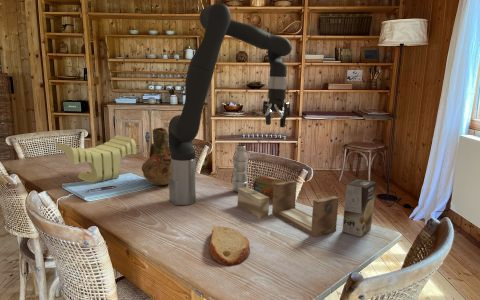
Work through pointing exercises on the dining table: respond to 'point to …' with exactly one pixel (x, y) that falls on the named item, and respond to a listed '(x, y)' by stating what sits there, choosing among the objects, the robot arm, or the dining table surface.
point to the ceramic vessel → (158, 159)
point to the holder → (315, 224)
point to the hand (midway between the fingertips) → (275, 125)
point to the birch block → (253, 202)
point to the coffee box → (358, 207)
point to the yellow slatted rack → (101, 157)
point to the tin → (265, 185)
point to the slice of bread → (228, 246)
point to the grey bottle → (240, 168)
